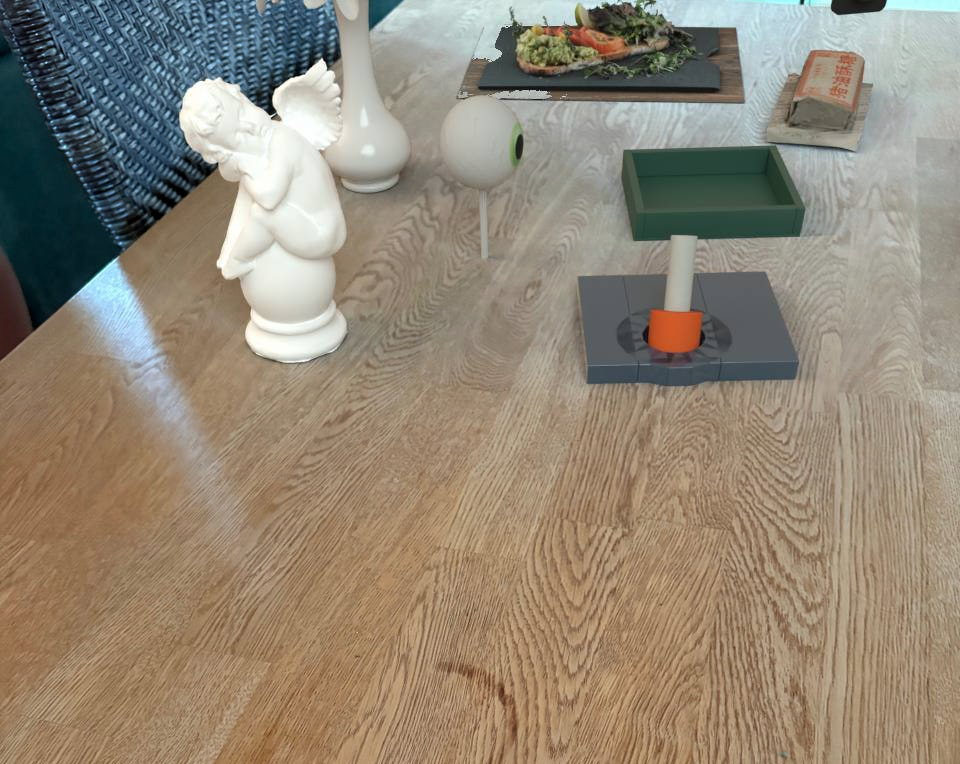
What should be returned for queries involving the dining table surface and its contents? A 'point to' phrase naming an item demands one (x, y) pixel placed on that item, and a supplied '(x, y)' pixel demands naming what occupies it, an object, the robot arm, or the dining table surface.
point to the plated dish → (613, 59)
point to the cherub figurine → (278, 206)
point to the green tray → (710, 193)
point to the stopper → (677, 302)
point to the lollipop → (481, 148)
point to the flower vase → (361, 109)
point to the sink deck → (723, 339)
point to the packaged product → (823, 102)
